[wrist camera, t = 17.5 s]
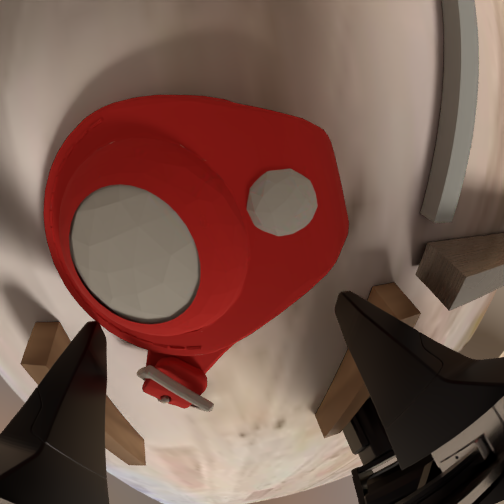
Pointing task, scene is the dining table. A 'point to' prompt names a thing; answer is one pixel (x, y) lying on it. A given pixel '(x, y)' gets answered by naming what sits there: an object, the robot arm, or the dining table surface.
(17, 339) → the dining table surface
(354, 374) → the stall
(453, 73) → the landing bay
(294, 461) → the dining table surface
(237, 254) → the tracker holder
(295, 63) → the dining table surface
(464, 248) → the bar
